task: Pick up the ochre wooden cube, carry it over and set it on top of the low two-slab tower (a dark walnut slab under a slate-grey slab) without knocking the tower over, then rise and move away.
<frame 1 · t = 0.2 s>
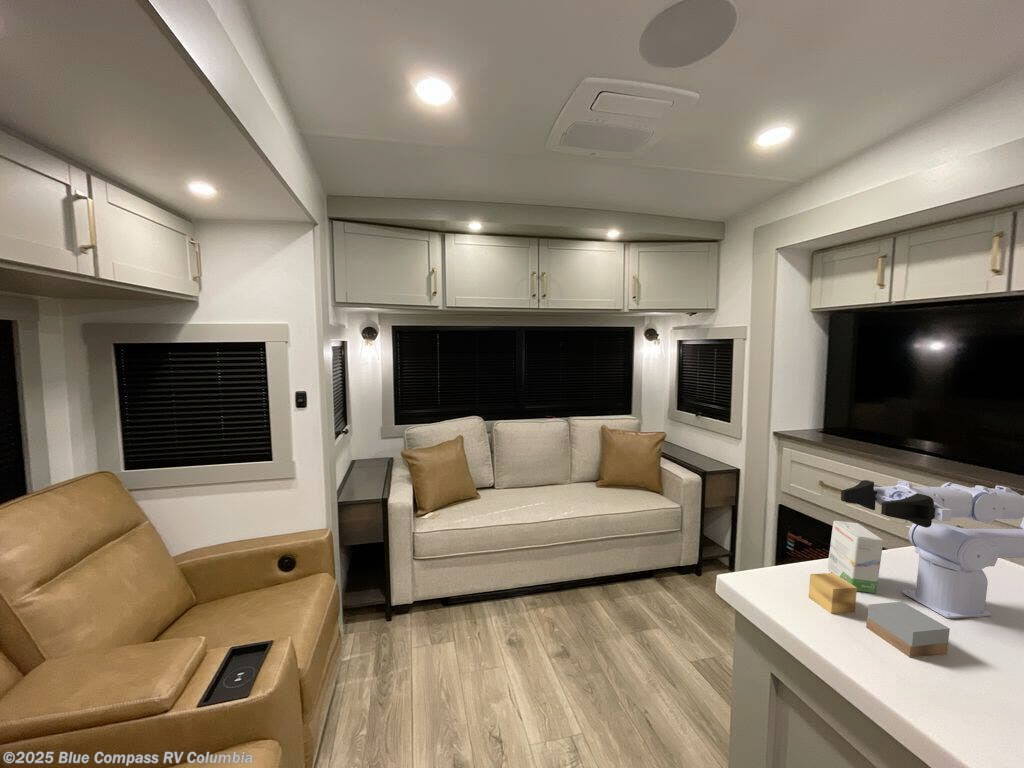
hand: (861, 502, 74), 21 cm above the counter, tool horizontal, fingers open, 7 cm apart
ochre cube: (830, 605, 77), on the counter
slate-grey slab: (906, 629, 68), point 2 cm above the counter, touching walnut slab
ink box: (851, 582, 85), on the counter
walnut slab: (904, 643, 68), on the counter, touching slate-grey slab
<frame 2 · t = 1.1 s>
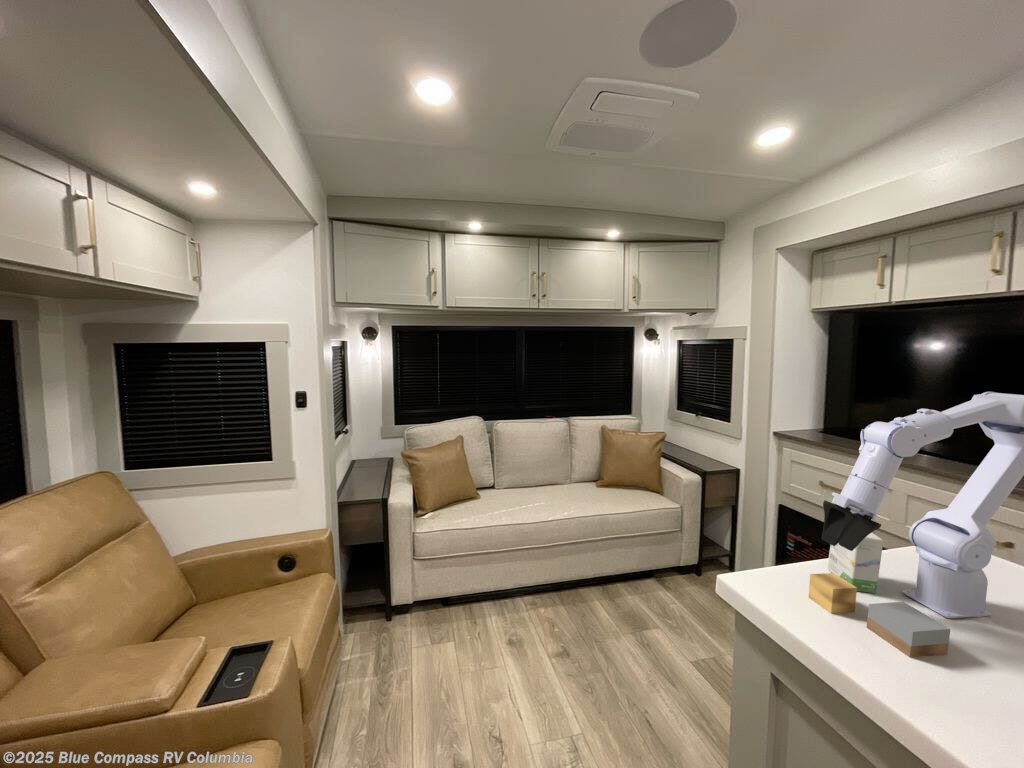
hand: (836, 545, 76), 12 cm above the counter, tool tilted 20°, fingers open, 7 cm apart
slate-grey slab: (906, 629, 67), point 2 cm above the counter
walnut slab: (904, 643, 68), on the counter
everything else where it was.
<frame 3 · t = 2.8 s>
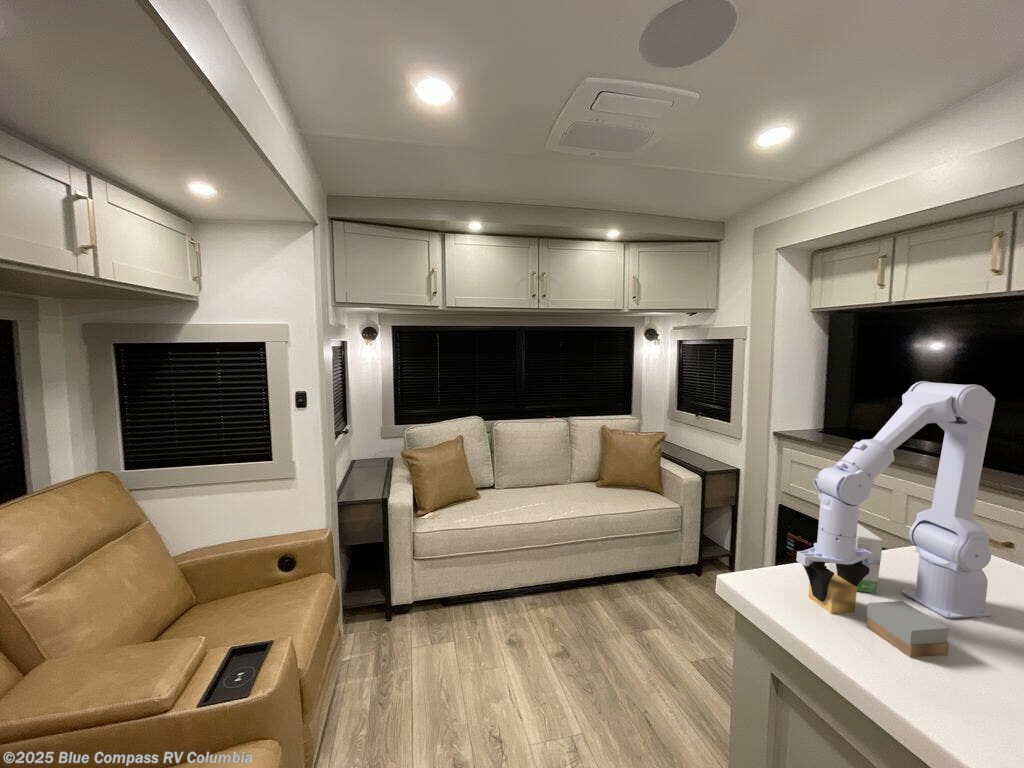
hand: (831, 597, 77), 1 cm above the counter, tool pointing down, fingers closed on ochre cube, 5 cm apart
ochre cube: (830, 604, 77), on the counter, touching gripper
everything else where it was.
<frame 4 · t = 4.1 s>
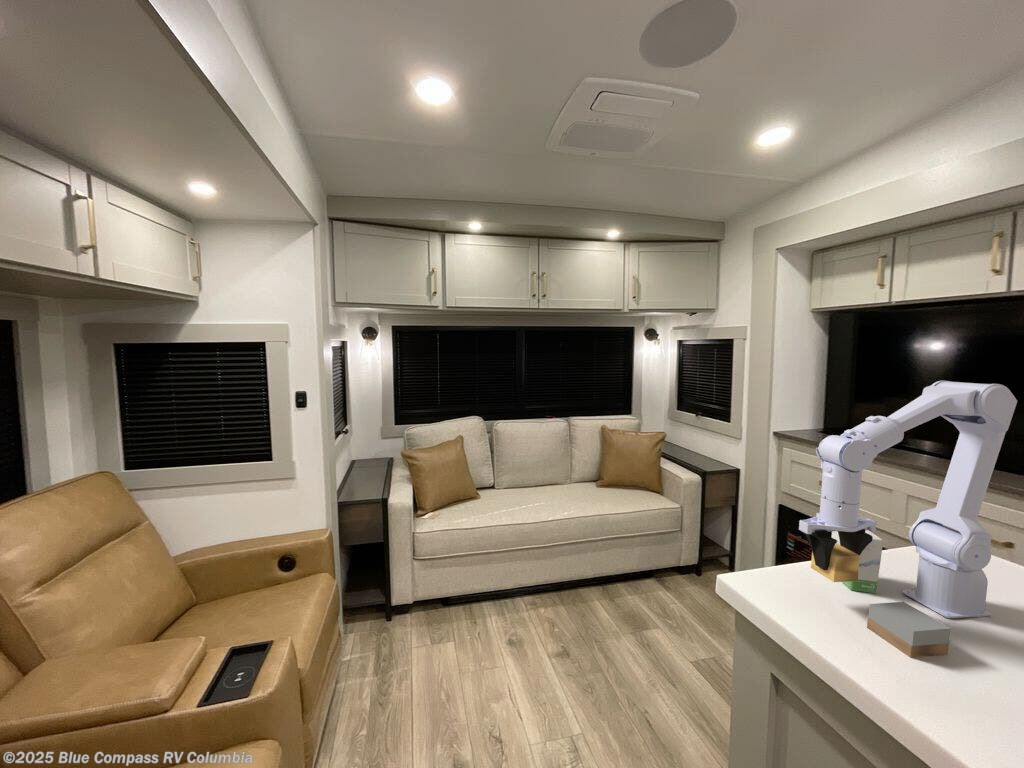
hand: (834, 566, 77), 8 cm above the counter, tool pointing down, fingers closed on ochre cube, 5 cm apart
ochre cube: (833, 574, 77), point 6 cm above the counter, touching gripper
slate-grey slab: (907, 629, 67), point 2 cm above the counter, touching walnut slab
walnut slab: (905, 643, 68), on the counter, touching slate-grey slab
everything else where it was.
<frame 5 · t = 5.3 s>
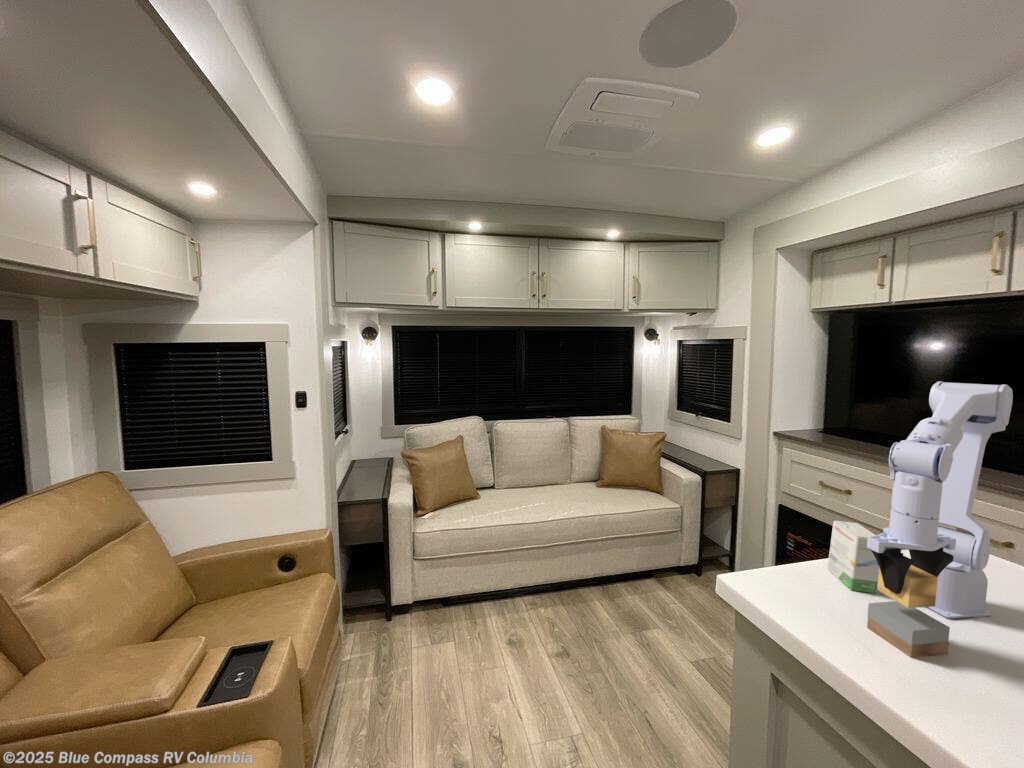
hand: (906, 589, 67), 9 cm above the counter, tool pointing down, fingers closed on ochre cube, 5 cm apart
ochre cube: (905, 597, 68), point 7 cm above the counter, touching gripper
slate-grey slab: (906, 628, 68), point 2 cm above the counter
walnut slab: (905, 642, 68), on the counter
everything else where it was.
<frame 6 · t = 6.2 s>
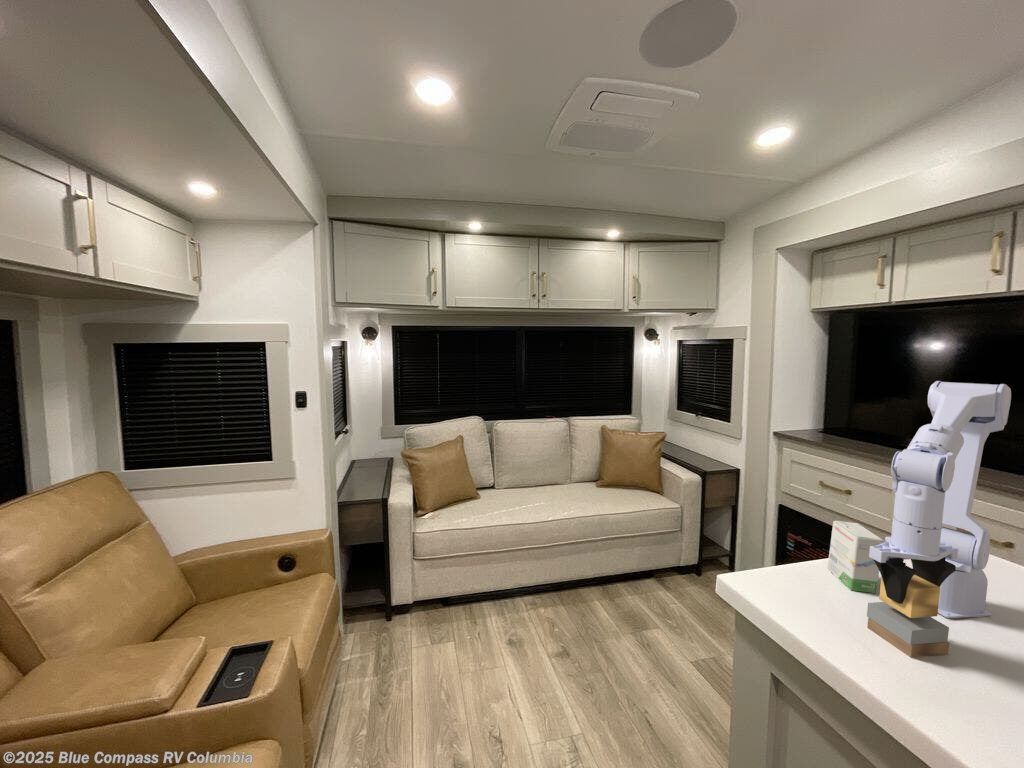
hand: (908, 599, 67), 7 cm above the counter, tool pointing down, fingers closed on ochre cube, 5 cm apart
ochre cube: (907, 607, 67), point 6 cm above the counter, touching gripper
slate-grey slab: (905, 628, 68), point 2 cm above the counter, touching walnut slab
walnut slab: (905, 642, 68), on the counter, touching slate-grey slab
everything else where it was.
when the fingers open (7 cm above the counter, at t = 6.3 s): ochre cube drops 1 cm, point 4 cm above the counter.
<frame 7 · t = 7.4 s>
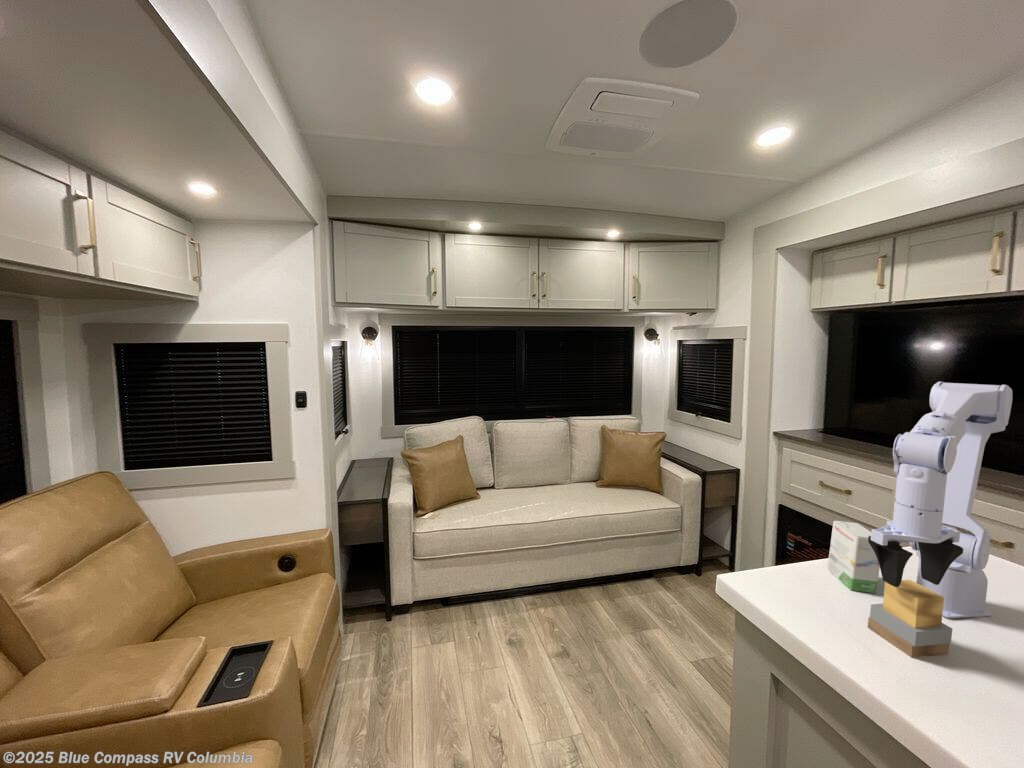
hand: (910, 582, 67), 10 cm above the counter, tool pointing down, fingers open, 7 cm apart
ochre cube: (910, 616, 67), point 4 cm above the counter
everything else where it was.
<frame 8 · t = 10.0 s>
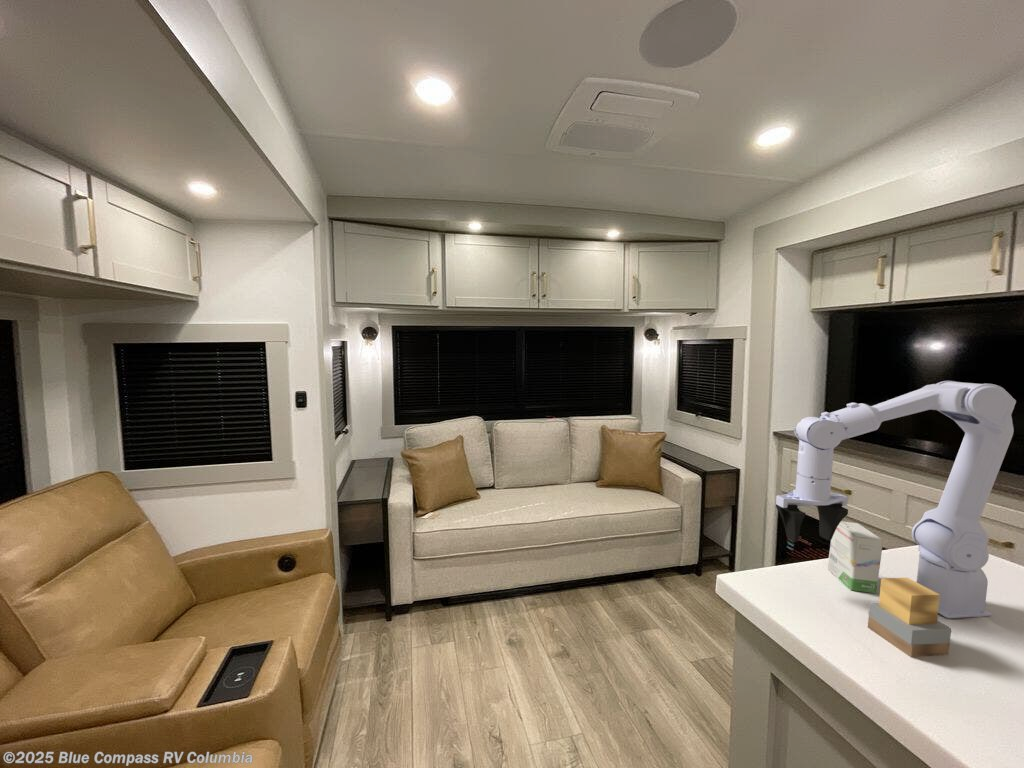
hand: (808, 538, 82), 10 cm above the counter, tool pointing down, fingers open, 7 cm apart
ochre cube: (906, 613, 68), point 5 cm above the counter, touching slate-grey slab
slate-grey slab: (907, 628, 68), point 2 cm above the counter, touching ochre cube, walnut slab
everything else where it was.
at the end: ochre cube 0.3 cm off-centre on the walnut slab, point 5.0 cm above the walnut slab's base; ochre cube tilted 0°; slate-grey slab 0.0 cm off-centre on the walnut slab, point 2.5 cm above the walnut slab's base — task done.
